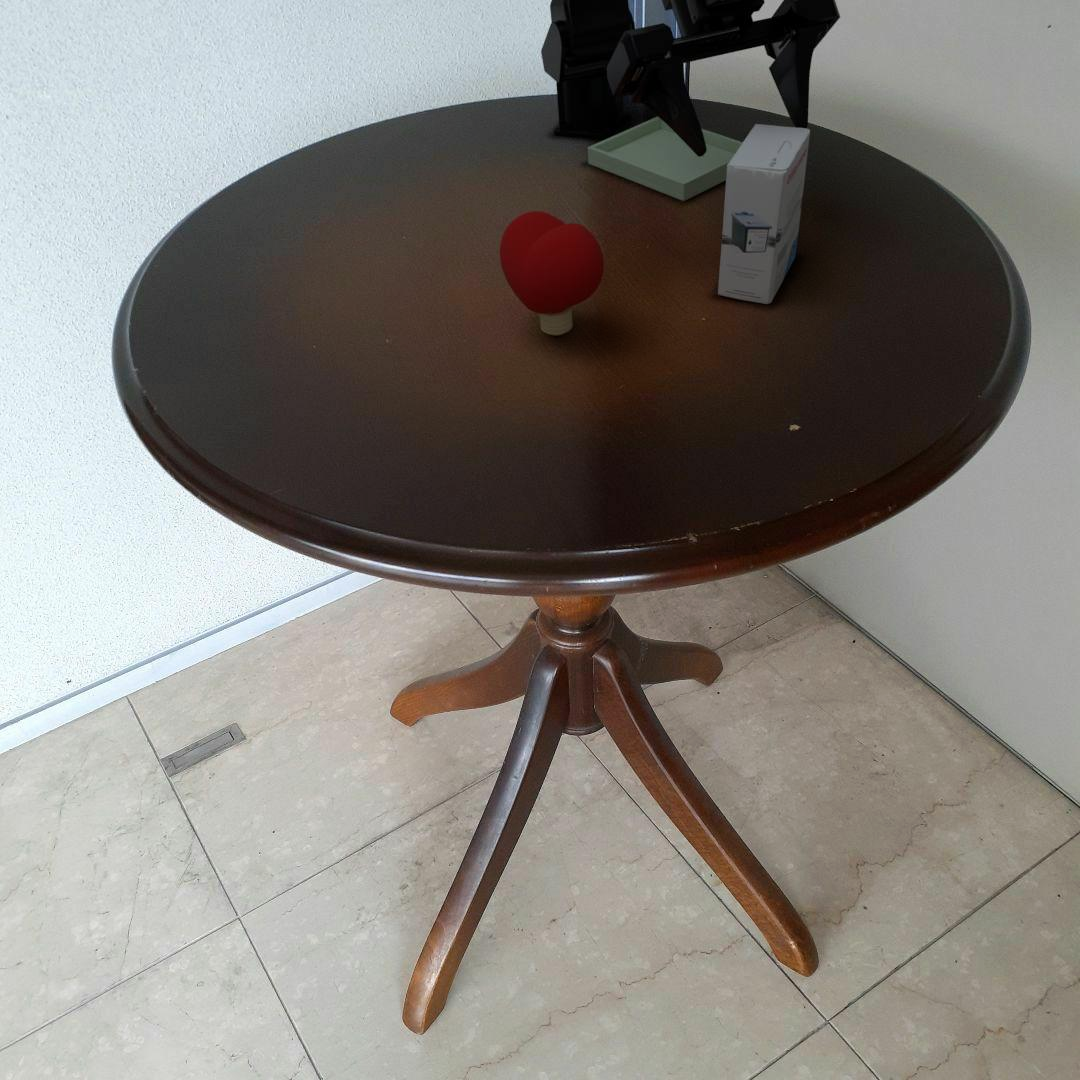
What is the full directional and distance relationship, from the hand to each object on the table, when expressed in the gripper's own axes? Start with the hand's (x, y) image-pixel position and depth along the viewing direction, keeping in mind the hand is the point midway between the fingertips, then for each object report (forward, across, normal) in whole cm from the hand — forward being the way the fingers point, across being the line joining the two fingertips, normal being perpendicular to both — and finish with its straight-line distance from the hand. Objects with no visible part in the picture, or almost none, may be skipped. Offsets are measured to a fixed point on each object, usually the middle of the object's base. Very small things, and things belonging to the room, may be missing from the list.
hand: (753, 141), depth 84 cm
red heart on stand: (+10, -19, +6) cm, 22 cm away
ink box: (+10, 0, +6) cm, 12 cm away
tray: (-8, +4, +24) cm, 25 cm away
